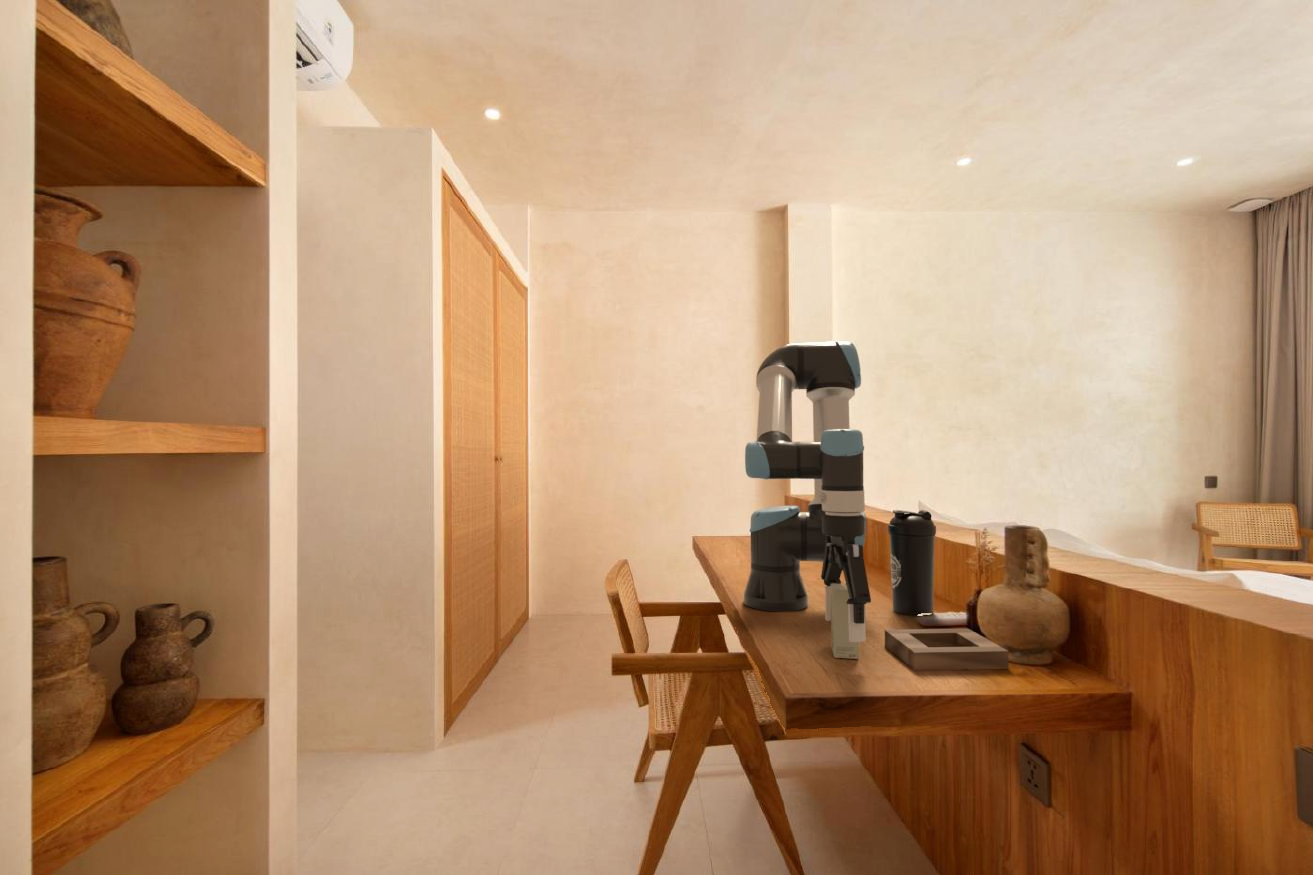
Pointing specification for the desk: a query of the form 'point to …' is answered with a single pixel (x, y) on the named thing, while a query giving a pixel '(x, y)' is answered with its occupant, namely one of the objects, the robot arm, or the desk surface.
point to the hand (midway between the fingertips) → (844, 630)
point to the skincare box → (841, 623)
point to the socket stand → (945, 649)
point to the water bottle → (912, 562)
